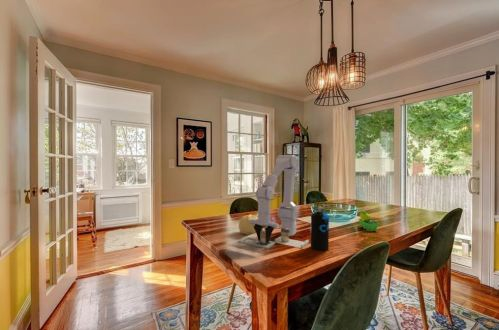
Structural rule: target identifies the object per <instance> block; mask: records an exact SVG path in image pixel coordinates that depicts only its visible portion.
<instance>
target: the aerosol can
mask: <svg viewBox="0 0 499 330" xmlns="http://www.w3.org/2000/svg"><path fill="white" fill-rule="evenodd" d="M310 219H311V220H310V222H311V223H310V225H311V226H310V249H311V250H313V251H316V252H327V251H329V246H330V245H329V239H330V237H329V235H330V233H329V231H330V230H329V229H330V216H329V214H327V213H326V212H324V211H323V207H322V206H318V207H317V211H315V212H313V213H312V214H310Z"/></svg>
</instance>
